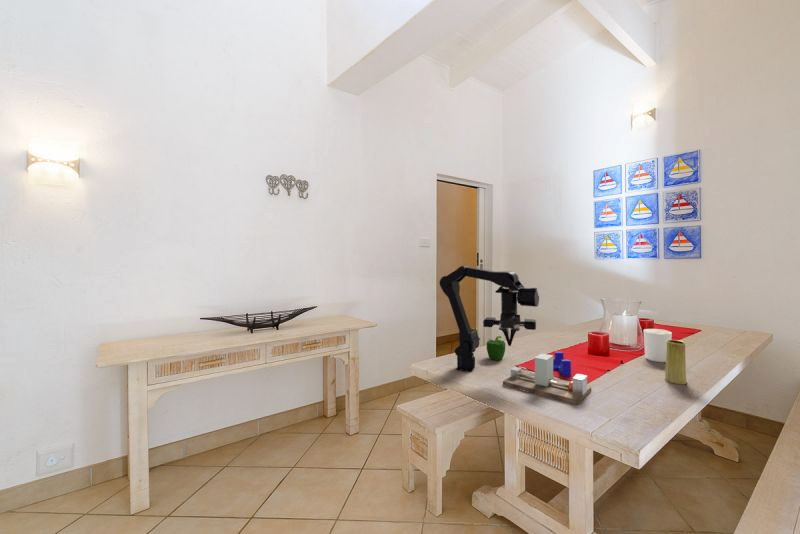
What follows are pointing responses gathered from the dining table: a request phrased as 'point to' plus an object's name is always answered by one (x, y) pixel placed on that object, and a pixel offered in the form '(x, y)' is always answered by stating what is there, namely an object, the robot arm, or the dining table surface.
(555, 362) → the blue stepped block
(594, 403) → the dining table surface
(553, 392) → the cord board
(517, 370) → the rod with end blocks
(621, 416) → the dining table surface
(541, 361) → the notched sage block
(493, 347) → the bell pepper
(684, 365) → the vase
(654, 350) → the white cylinder
